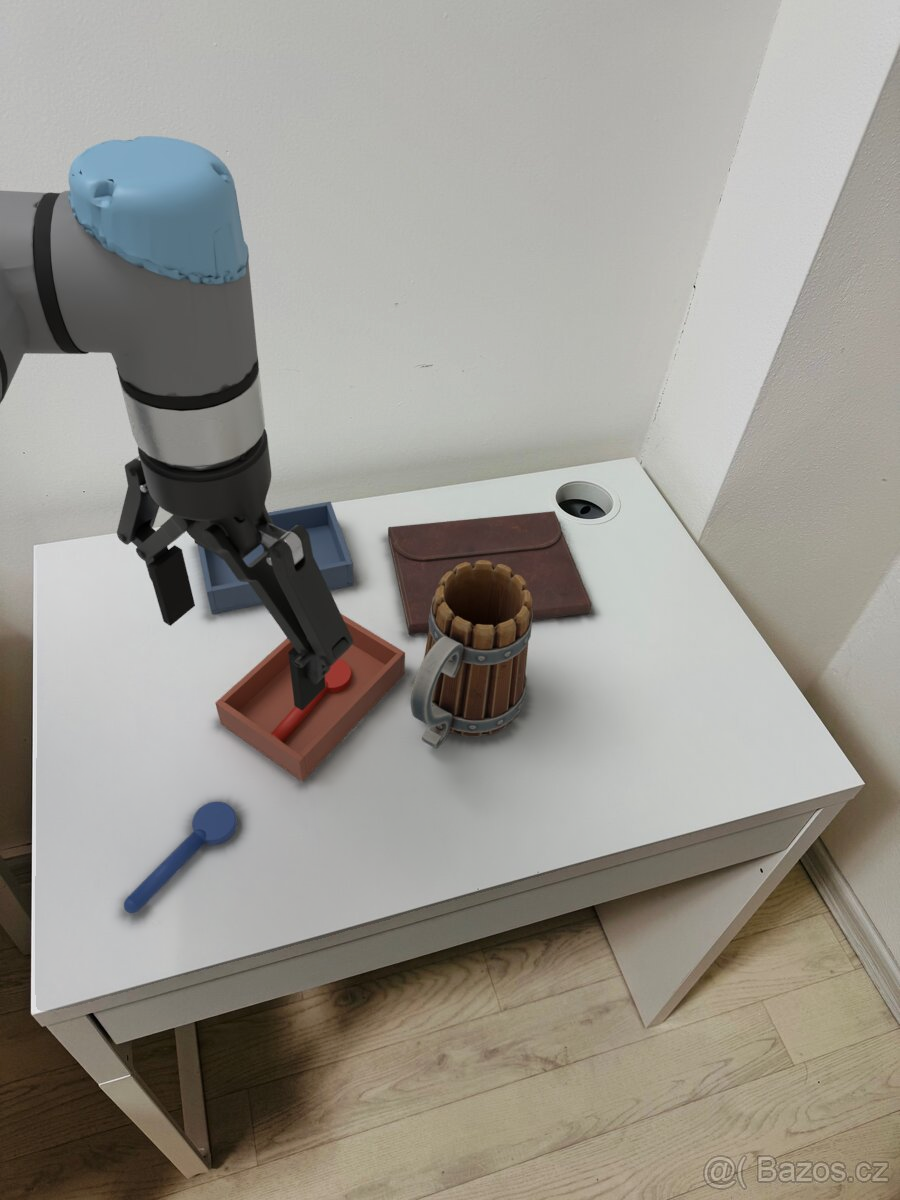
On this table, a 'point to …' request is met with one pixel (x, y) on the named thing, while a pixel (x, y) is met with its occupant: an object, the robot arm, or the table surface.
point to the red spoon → (334, 683)
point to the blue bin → (222, 581)
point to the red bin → (270, 700)
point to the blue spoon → (186, 850)
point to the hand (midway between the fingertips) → (242, 654)
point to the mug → (474, 653)
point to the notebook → (505, 540)
